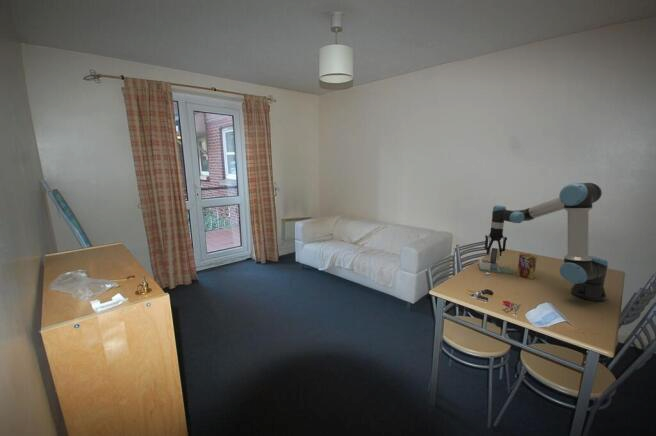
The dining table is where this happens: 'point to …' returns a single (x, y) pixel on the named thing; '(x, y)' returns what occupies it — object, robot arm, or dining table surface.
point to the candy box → (526, 265)
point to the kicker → (493, 259)
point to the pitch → (499, 269)
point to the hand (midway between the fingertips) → (493, 259)
